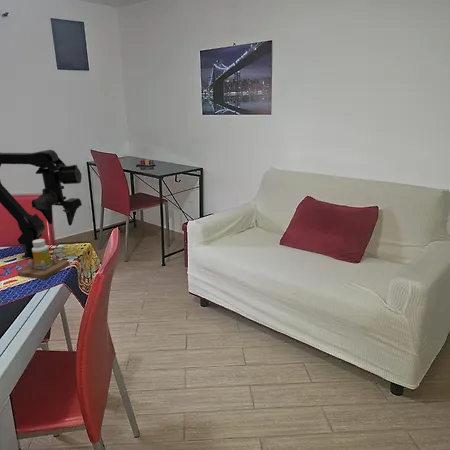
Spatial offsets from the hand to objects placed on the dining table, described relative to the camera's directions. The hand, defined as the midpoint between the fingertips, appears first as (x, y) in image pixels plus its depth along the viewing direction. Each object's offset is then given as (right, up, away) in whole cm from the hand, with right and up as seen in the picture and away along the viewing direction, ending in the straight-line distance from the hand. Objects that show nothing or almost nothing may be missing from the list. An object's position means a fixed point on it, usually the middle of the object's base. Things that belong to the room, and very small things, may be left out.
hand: (60, 224), depth 154 cm
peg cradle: (-1, -16, -11) cm, 19 cm away
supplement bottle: (-1, -15, -11) cm, 19 cm away
